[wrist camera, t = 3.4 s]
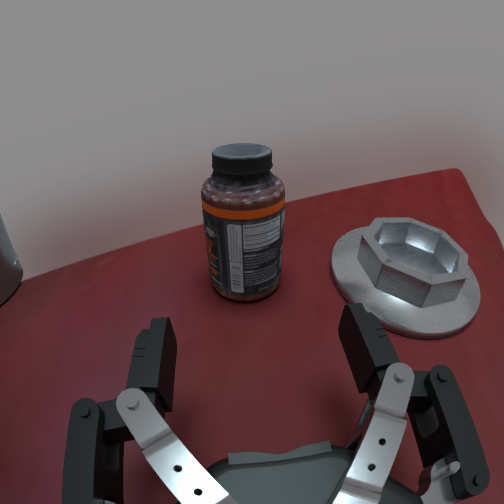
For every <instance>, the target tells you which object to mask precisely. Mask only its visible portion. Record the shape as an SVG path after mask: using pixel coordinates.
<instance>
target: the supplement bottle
mask: <svg viewBox="0 0 504 504" xmlns="http://www.w3.org/2000/svg"><path fill="white" fill-rule="evenodd" d="M272 166H273V164H272V150H271V149H270V148H269V147H267V146H264V145H260V144H253V143H238V144H229V145H223V146H220V147H217V148H216V149H214V150H213V152H212V168H213V173H212V175H211V177H210V178H208V179H207V180H206V181H205V182H204V184H203V185H202V189H201V199H202V208H203V211H202V212H203V219H204V229H205V237H206V245H207V255H208V261H209V271H210V277H211V281H212V284H213V286H214V288H215V289H216V290H217V291H218V292H219V293H220V294H221V295H223V296H224V297H226V298H229V299H232V300H237V301H254V300H258V299H261V298H263V297H265V296H268V295H269V294H271V293H272V292H273V291H274V290H275V289H276V287H277V286H278V284H279V281H280V275H281V264H282V247H283V230H284V209H285V188H284V185H283V183H282V181H281V180H280V179H279V178H278V177H277V176H276V175H274V174H273V173H271V172H270V169H271V168H272Z"/></svg>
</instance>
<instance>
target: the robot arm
mask: <svg viewBox="0 0 504 504" xmlns="http://www.w3.org/2000/svg"><path fill="white" fill-rule="evenodd" d="M22 276H23V269H22V267H21V264H20V262H19V260H18V257H17V255H16V253H15V251H14V249H13V246H12V244H11V242H10V239H9V237H8V234H7V232H6V229H5V226H4V223H3V220H2V218H1V215H0V305H1V304H2V303H3V302H4V301H6V300H7V299H8V298H9V297H10V296H11V295H12V294H13V292H14V291H15V290H16V289H17V287H18V285H19V284H20V282H21V280H22ZM338 333H339V338H340V341H341V343H342V346H343V349H344V351H345V354H346V357H347V360H348V363H349V365H350V368H351V371H352V374H353V377H354V379H355V382H356V385H357V388H358V391H359V394H361V393H365V392H367V393H368V396H369V397H368V399H367V401H366V404H365V406H364V409H363V411H362V414H361V416H360V418H359V421H358V423H357V425H356V428H355V430H354V432H353V433H352V435H351V437H350V438H349V440H348V442H347V443H346V445H345V447H340V446H334V445H330V441H325V442H320V443H314V444H309V445H305V446H302V447H300V448H297V449H295V450H292V451H290V452H287V453H284V454H281V455H277V454H268V453H260V452H242V453H228V458H225V459H222V460H220V461H217V462H216V463H214V464H212V465H211V466H209V467H208V468H207V469H206V470H205V469H204V468H203V467H202V466H201V465H200V464H199V462H198V461H197V460H196V459H195V458H194V457H193V456H192V454H191V453H190V452H189V451H188V450H187V449H186V447H185V446H184V445H183V444H182V443H181V441H180V440H179V439H178V438H177V436H176V435H175V434H174V433H173V431H172V430H171V429H170V427H169V426H168V425H167V424H166V422H165V421H164V419H165V412H172V404H173V390H174V377H175V365H176V355H177V342H176V337H175V334H174V331H173V328H172V325H171V321H170V319H169V318H168V317H165V318H152V320H151V325H150V329H142V331H141V332H140V333H139V335H138V336H137V338H136V341H135V346H134V350H133V355H132V360H131V364H130V369H129V375H128V380H127V385H126V388H125V390H124V391H123V392H121V393H120V395H119V396H118V397H117V398H115V399H113V400H109V401H104V402H100V403H96V402H95V401H94V400H92V399H90V398H82V399H79V400H78V401H76V402H75V403H74V405H73V407H72V409H71V415H70V421H69V427H68V434H67V441H66V449H65V459H64V470H63V485H62V504H124V501H123V456H124V442H125V441H130V440H135V439H136V441H137V442H138V444H139V445H140V447H141V451H142V453H143V455H144V456H145V458H146V459H147V461H148V462H149V463H150V465H151V466H152V467H153V469H154V470H155V472H156V473H157V474H158V475H159V477H160V478H161V479H162V481H163V482H164V483H165V484H166V486H167V487H168V488H169V489H170V491H171V492H172V493H173V494H174V495H175V497H176V498H177V499H178V502H177V503H176V504H452V503H455V502H459V501H461V500H464V499H467V498H470V497H473V496H475V495H478V494H480V493H482V492H483V491H484V490H485V489H486V487H487V486H488V483H489V479H490V474H489V470H488V466H487V463H486V459H485V456H484V453H483V449H482V446H481V443H480V440H479V437H478V434H477V431H476V429H475V426H474V423H473V420H472V418H471V415H470V412H469V410H468V407H467V405H466V402H465V400H464V397H463V395H462V393H461V390H460V388H459V386H458V383H457V381H456V379H455V377H454V375H453V373H452V371H451V370H450V369H449V368H448V367H447V366H445V365H436V366H434V367H433V368H432V369H431V370H430V371H413V370H412V369H411V368H410V367H409V366H408V365H406V364H404V363H401V362H400V360H399V358H398V356H397V354H396V352H395V350H394V348H393V346H392V343H391V341H390V339H389V337H387V333H386V331H385V330H384V327H383V326H382V324H381V322H380V320H379V319H378V318H377V317H376V316H375V315H374V314H373V313H372V312H369V313H367V312H366V310H365V308H364V306H363V304H362V303H354V304H347V305H345V306H344V310H343V313H342V316H341V320H340V323H339V327H338ZM406 412H408V415H409V418H410V422H411V425H412V428H413V431H414V435H415V438H416V442H417V445H418V449H419V452H420V456H421V460H422V464H423V468H424V469H423V471H422V472H421V474H420V476H419V481H418V485H419V489H418V491H417V493H415V492H414V491H412V490H410V489H409V488H407V487H405V486H404V485H402V484H401V483H399V482H398V481H396V480H394V479H393V478H391V477H390V476H388V474H389V472H390V470H391V467H392V465H393V462H394V459H395V457H396V454H397V451H398V448H399V446H400V443H401V440H402V437H403V434H404V431H405V428H406V424H407V419H406V418H405V413H406Z"/></svg>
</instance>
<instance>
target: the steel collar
mask: <svg viewBox="0 0 504 504" xmlns="http://www.w3.org/2000/svg"><path fill="white" fill-rule="evenodd" d="M467 264H468V254H467V253H466V252H465V251H464V250H463V249H462V248H461V247H460V246H459V245H458V244H457V243H456V242H455V241H454V240H453V239H452V238H451V237H450V236H449V235H447V234H446V233H445V232H444V231H442V230H440V229H437V228H435V227H432V226H430V225H427V224H425V223H422V222H419V221H417V220H414V219H412V218H376V219H375V220H374V221H373V222H372V223H371V225H370V226H367V227H361V228H358V229H355V230H352V231H350V232H348V233H346V234H345V235H343V236H342V237H341V238H340V239H339V240H338V241H337V242H336V244H335V246H334V248H333V252H332V257H331V266H330V270H331V275H332V278H333V281H334V284H335V286H336V287H337V289H338V291H339V293H340V294H341V295H342V296H343V298H344V299H345V300H346V301H347V302H348V303H349V304H354V303H362V304H363V306H364V308H365V310H366V312H367V313H369V312H372V313H373V314H374V315H375V316H376V317H377V318H378V319H379V320H380V322H381V324H382V326H383V327H384V329H386V330H389V331H391V332H393V333H396V334H399V335H403V336H406V337H411V338H417V339H430V340H431V339H442V338H446V337H450V336H452V335H455V334H457V333H459V332H460V331H462V330H463V329H464V328H465V327H466V326H467V325H468V324H469V323H470V322H471V320H472V318H473V317H474V315H475V314H476V312H477V310H478V307H479V304H480V289H479V285H478V282H477V279H476V277H475V275H474V273H473V272H472V270H471V269H470V267H469V266H468V265H467Z"/></svg>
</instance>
